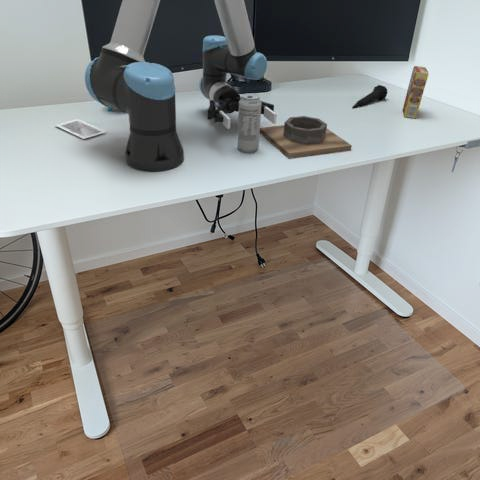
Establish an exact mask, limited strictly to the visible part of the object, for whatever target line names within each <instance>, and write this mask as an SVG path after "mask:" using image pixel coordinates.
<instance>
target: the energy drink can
mask: <svg viewBox="0 0 480 480" xmlns="http://www.w3.org/2000/svg"><path fill="white" fill-rule="evenodd" d="M240 97H241V99H240V101H239V111H238V114H237V115H238V116H237V117H238V119H237V139H236V141H237V142H236V143H237V145H236V146H237V148H238V150H239V151H240V152H242V153H247V154H250V153H255V152H256V151H257V149H259V145H260V144H259V143H260V134H261V133H260V128H261V115H262V114H261V101H262V100H261V99H260V98H261V97H260V95H259V94H256V93H252V92H251V93H250V92H249V93H248V92H247V93H243V94H241V95H240Z"/></svg>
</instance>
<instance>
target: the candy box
mask: <svg viewBox="0 0 480 480" xmlns="http://www.w3.org/2000/svg"><path fill="white" fill-rule="evenodd" d="M429 74H430V73H429V71H428V69H427V67H425V66H421V65H420V66H419V65H418V66H417V65H413V68H412V73H411V76H410V80H409V84H408V88H407V91H406V95H405V99H404V103H403V107H402V112H403V117H404V118H407V119H408V118H410V119H417V116H418V112H419V109H420V105H421V102H422V97H423V94H424V91H425V87H426V84H427V81H428V78H429Z"/></svg>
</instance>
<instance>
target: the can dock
mask: <svg viewBox="0 0 480 480" xmlns="http://www.w3.org/2000/svg"><path fill="white" fill-rule="evenodd" d="M327 127H328V124H327V122H325V121H323V120H321V119H320V118H317V117H312V116H307V115H298V116H290V117H288V118H287V119H286V120H285V121H284V124H282V125H273V126H263V127H262V126H261V127H260V133H259V134H261V135H262V137H264V138H265V140H267V141H268V142H269V143H270V144H272V145H273V146H274V147H275V148H276V149H277V150H278V151H280V152H281V153H282V154H283V156H285V157H286V158H288V159H296V158H302V157H311V156H318V155H324V154H335V153H340V152H349V151H351V150H352V144H351V143H349V142H348V141H346V140H345V139H343V138H342V137H340V136H339V135H337V134H336V133H334V132H333V131H332V130H330V129H328V128H327Z"/></svg>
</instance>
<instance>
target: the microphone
mask: <svg viewBox="0 0 480 480" xmlns="http://www.w3.org/2000/svg"><path fill="white" fill-rule="evenodd" d="M387 95H388V88H387V87H386V86H384V85H381V84H379V85H376V86H374V87H373V90H372V91H371V92H370V93H368V94H367V95H365V96H363V97H361V99H359V100H357V102H356V103H355V104H354V105H352V107H351V108H352V109H356V108H359V107H364V106H365V105H367V104H370V103H372V102H374V101H377V100H378V101H382V100H384V99H386V97H387Z"/></svg>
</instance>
